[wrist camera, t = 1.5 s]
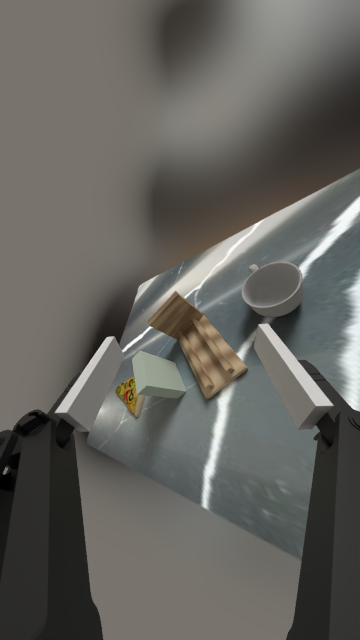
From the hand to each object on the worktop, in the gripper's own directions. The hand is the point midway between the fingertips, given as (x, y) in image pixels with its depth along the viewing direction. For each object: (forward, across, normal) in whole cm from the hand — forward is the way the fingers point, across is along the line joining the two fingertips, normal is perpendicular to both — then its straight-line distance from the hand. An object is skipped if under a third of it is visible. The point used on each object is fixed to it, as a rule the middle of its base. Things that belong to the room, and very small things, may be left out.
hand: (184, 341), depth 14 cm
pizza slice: (+20, -26, -43) cm, 54 cm away
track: (+20, +3, -22) cm, 30 cm away
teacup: (+23, +21, -9) cm, 33 cm away
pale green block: (+16, -6, -30) cm, 35 cm away
